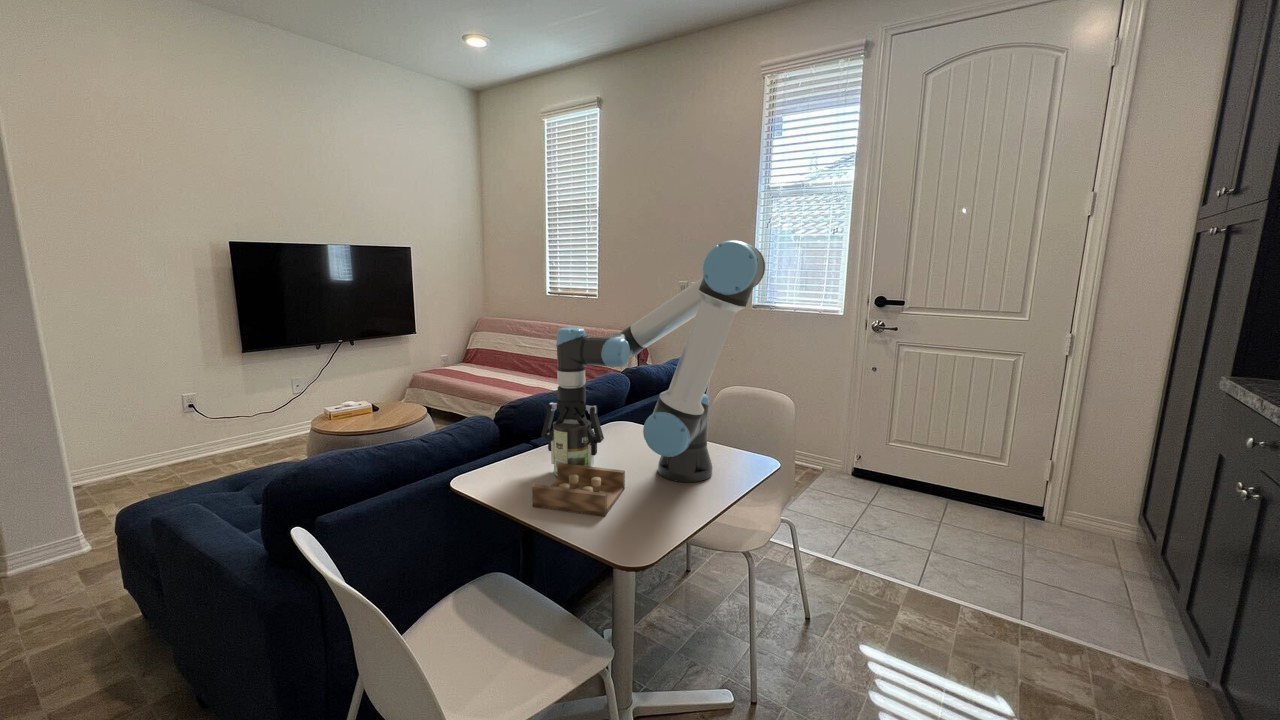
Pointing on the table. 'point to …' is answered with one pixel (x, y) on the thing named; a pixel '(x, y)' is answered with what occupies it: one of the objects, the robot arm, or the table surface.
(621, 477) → the wooden tray
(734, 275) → the robot arm
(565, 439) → the coffee can
